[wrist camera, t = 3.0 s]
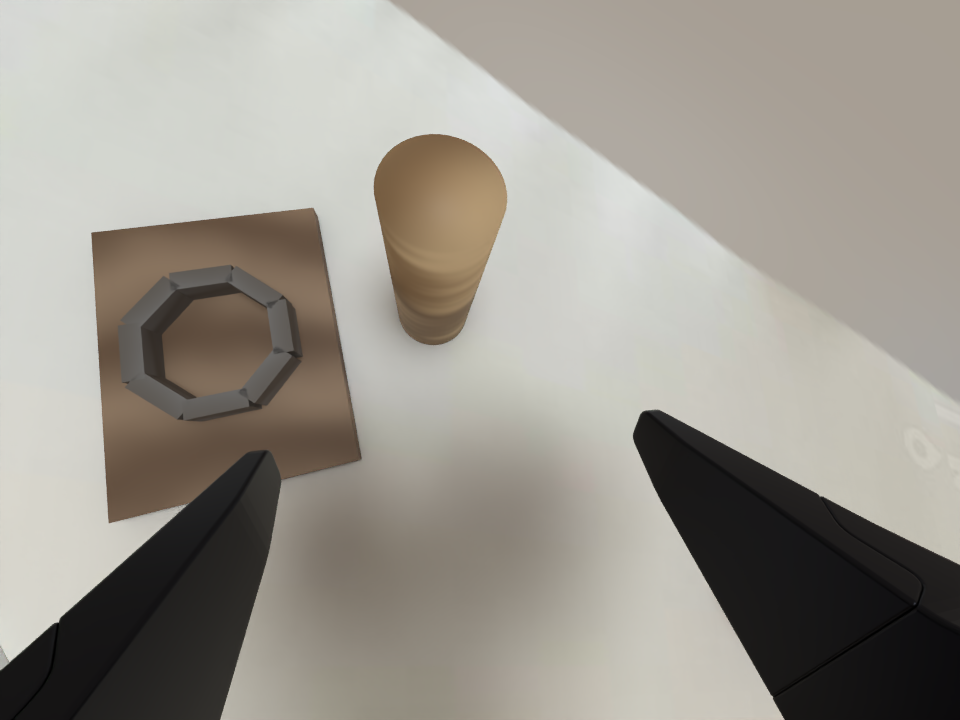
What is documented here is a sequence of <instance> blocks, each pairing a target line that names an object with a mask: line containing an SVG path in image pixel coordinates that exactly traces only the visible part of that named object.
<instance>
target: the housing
mask: <svg viewBox="0 0 960 720" xmlns="http://www.w3.org/2000/svg"><path fill="white" fill-rule="evenodd" d="M91 234H92V251H93V268H94V284H95V301H96V318H97V335H98V351H99V368H100V385H101V402H102V419H103V435H104V452H105V469H106V486H107V503H108V519H109V523H112V522H116V521H120V520H124V519H128V518H131V517H135V516H139V515H143V514H147V513H151V512H155V511H159V510H163V509H167V508H171V507H175V506H179V505H183V504H187V503H190V502H191V501H193V500H194V499H195V498H196V497H197V496H198V495H199V494H200V493H202V492H203V491H204V490H205V489H206V488H207V487H208V486H209V485H211V484H212V483H213V482H214V481H215V480H216V479H217V478H219V477H220V476H221V475H222V474H223V473H224V472H225V471H226V470H228V469H229V468H230V467H231V466H232V465H233V464H234V463H235V462H237V461H238V460H239V459H240V458H241V457H242V456H243V455H244V454H246V453H247V452H250V451H257V450H269V451H271V453H272V454H273V457H274V459H275V462H276V464H277V467H278V469H279V472H280V474H281V480H282V479H285V478H289V477H293V476H297V475H301V474H305V473H309V472H313V471H317V470H321V469H325V468H329V467H333V466H337V465H341V464H345V463H349V462H353V461H357V460H360V459H361V453H360V448H359V442H358V437H357V431H356V426H355V420H354V415H353V409H352V404H351V398H350V393H349V387H348V382H347V376H346V371H345V365H344V360H343V354H342V348H341V343H340V337H339V332H338V326H337V321H336V315H335V310H334V304H333V299H332V293H331V288H330V282H329V277H328V271H327V266H326V260H325V255H324V249H323V243H322V238H321V232H320V227H319V221H318V217H317V215H316V213H315V211H314V208H307V209H298V210H289V211H281V212H272V213H263V214H254V215H245V216H236V217H227V218H218V219H209V220H200V221H191V222H183V223H174V224H165V225H156V226H147V227H138V228H129V229H120V230H111V231H102V232H93V233H91Z"/></svg>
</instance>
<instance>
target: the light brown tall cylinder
mask: <svg viewBox="0 0 960 720" xmlns="http://www.w3.org/2000/svg"><path fill="white" fill-rule="evenodd" d="M374 196H375V200H376V205H377V210H378V215H379V220H380V225H381V230H382V235H383V240H384V244H385V249H386V254H387V259H388V264H389V269H390V274H391V279H392V284H393V289H394V293H395V298H396V303H397V308H398V313H399V318H400V322H401V324H402V326H403V328H404V330H405V331H406V333H407V334H408V335H409V336H411V337H412V338H413V339H415V340H416V341H418V342H421V343H424V344H429V345H438V344H443V343H446V342H448V341H450V340H452V339H453V338H455V337H456V336H457V335H458V334H459V333H460V331H461V330H462V328H463V326H464V324H465V321H466V318H467V315H468V313H469V310H470V307H471V304H472V302H473V299H474V296H475V294H476V291H477V288H478V285H479V283H480V280H481V277H482V274H483V272H484V269H485V266H486V264H487V261H488V258H489V255H490V253H491V250H492V247H493V245H494V242H495V239H496V236H497V234H498V231H499V228H500V225H501V223H502V220H503V217H504V214H505V211H506V205H507V191H506V186H505V182H504V179H503V177H502V175H501V173H500V171H499V169H498V168H497V166H496V165H495V163H494V162H493V161H492V160H491V159H490V158H489V157H488V156H487V155H486V154H485V153H484V152H483V151H482V150H480V149H479V148H477V147H476V146H474V145H473V144H471V143H469V142H467V141H465V140H462V139H459V138H456V137H452V136H448V135H440V134H429V135H421V136H416V137H413V138H410V139H407V140H405V141H403V142H401V143H399V144H398V145H396V146H395V147H394V148H392V149H391V150H390V151H389V152H388V153H387V154H386V155H385V157H384V158H383V159H382V161H381V163H380V164H379V166H378V169H377V171H376V175H375V179H374Z"/></svg>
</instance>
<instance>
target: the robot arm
mask: <svg viewBox="0 0 960 720" xmlns="http://www.w3.org/2000/svg"><path fill="white" fill-rule="evenodd" d="M633 440H634V443H635V445H636V448H637V450H638V452H639V454H640V457H641V459H642V461H643V463H644V466H645V468H646V470H647V472H648V475H649V477H650V479H651V481H652V484H653V486H654V488H655V490H656V492H657V494H658V496H659V498H660V500H661V502H662V504H663V505H664V507H665V509H666V511H667V512H668V514H669V516H670V518H671V520H672V521H673V523H674V525H675V527H676V528H677V530H678V532H679V534H680V535H681V537H682V539H683V541H684V542H685V544H686V546H687V548H688V550H689V551H690V553H691V555H692V557H693V558H694V560H695V562H696V564H697V565H698V567H699V569H700V571H701V572H702V574H703V576H704V578H705V580H706V581H707V583H708V585H709V587H710V588H711V590H712V592H713V594H714V595H715V597H716V599H717V601H718V602H719V604H720V606H721V608H722V610H723V611H724V613H725V615H726V617H727V618H728V620H729V622H730V624H731V625H732V627H733V629H734V631H735V632H736V634H737V636H738V638H739V640H740V641H741V643H742V645H743V647H744V648H745V650H746V652H747V654H748V655H749V657H750V659H751V661H752V662H753V664H754V666H755V668H756V670H757V671H758V673H759V675H760V677H761V678H762V680H763V682H764V684H765V685H766V687H767V689H768V691H769V692H770V694H771V696H773V700H774V702H775V704H776V705H777V707H778V709H779V711H780V712H781V714H782V716H783V718H784V719H785V720H960V565H959V564H957V563H955V562H953V561H951V560H949V559H947V558H944V557H942V556H940V555H938V554H936V553H934V552H932V551H930V550H928V549H926V548H924V547H921V546H919V545H917V544H915V543H913V542H911V541H909V540H907V539H905V538H903V537H901V536H899V535H897V534H895V533H893V532H890V531H888V530H886V529H884V528H882V527H880V526H878V525H876V524H874V523H872V522H870V521H868V520H866V519H864V518H863V517H861V516H859V515H857V514H855V513H853V512H851V511H849V510H847V509H845V508H843V507H841V506H839V505H838V504H836V503H834V502H832V501H830V500H828V499H826V498H824V497H822V496H819V495H818V494H817V493H815V492H813V491H811V490H809V489H807V488H805V487H804V486H802V485H800V484H798V483H796V482H794V481H792V480H790V479H789V478H787V477H785V476H783V475H781V474H779V473H777V472H775V471H773V470H772V469H770V468H768V467H766V466H764V465H762V464H760V463H758V462H756V461H755V460H753V459H751V458H749V457H747V456H745V455H743V454H741V453H740V452H738V451H736V450H734V449H732V448H730V447H728V446H726V445H724V444H723V443H721V442H719V441H717V440H715V439H713V438H711V437H709V436H708V435H706V434H704V433H702V432H700V431H698V430H696V429H694V428H692V427H691V426H689V425H687V424H685V423H683V422H681V421H679V420H677V419H675V418H674V417H672V416H670V415H668V414H666V413H664V412H662V411H660V410H647V411H643V412H642V413H641V414H640V417H639V419H638V422H637V425H636V427H635V430H634V433H633ZM280 487H281V474H280V472H279V469H278V467H277V464H276V462H275V459H274V457H273V454H272V453H271V451H269V450H257V451H250V452H247V453H246V454H244V455H243V456H242V457H241V458H240V459H239V460H238V461H237V462H235V463H234V464H233V465H232V466H231V467H230V468H229V469H228V470H226V471H225V472H224V473H223V474H222V475H221V476H220V477H219V478H217V479H216V480H215V481H214V482H213V483H212V484H211V485H209V486H208V487H207V488H206V489H205V490H204V491H203V492H202V493H200V494H199V495H198V496H197V497H196V498H195V499H194V500H193V501H191V502H190V503H189V504H188V505H187V506H186V507H185V508H184V509H182V510H181V511H180V512H179V513H178V514H177V515H176V516H175V517H173V518H172V519H171V520H170V521H169V522H168V523H167V524H166V525H164V526H163V527H162V528H161V529H160V530H159V531H158V532H157V533H155V534H154V535H153V536H152V537H151V538H150V539H149V540H148V541H146V542H145V543H144V544H143V545H142V546H141V547H140V548H138V549H137V550H136V551H135V552H134V553H133V554H132V555H131V556H129V557H128V558H127V559H126V560H125V561H124V562H123V563H122V564H120V565H119V566H118V567H117V568H116V569H115V570H114V571H113V572H111V573H110V574H109V575H108V576H107V577H106V578H105V579H104V580H102V581H101V582H100V583H99V584H98V585H97V586H96V587H95V588H93V589H92V590H91V591H90V592H89V593H88V594H87V595H86V596H84V597H83V598H82V599H81V600H80V601H79V602H78V603H76V604H75V605H74V606H73V607H72V608H71V609H70V610H69V611H67V612H66V613H65V614H64V615H63V616H62V617H61V618H60V620H59V623H54V624H53V625H51V626H50V627H49V628H48V629H47V630H46V631H45V632H44V633H42V634H41V635H40V636H39V637H38V638H37V639H36V640H35V641H33V642H32V643H31V644H30V645H29V646H28V647H27V648H26V649H24V650H23V651H22V652H21V653H20V654H19V655H17V656H16V657H15V658H14V659H13V660H12V661H11V662H9V663H8V664H7V665H6V666H5V667H4V668H2V669H1V670H0V720H220V719H221V715H222V712H223V708H224V705H225V701H226V698H227V695H228V691H229V688H230V684H231V681H232V678H233V674H234V671H235V667H236V664H237V660H238V657H239V654H240V650H241V647H242V643H243V640H244V637H245V633H246V630H247V626H248V623H249V620H250V616H251V613H252V609H253V606H254V602H255V599H256V596H257V592H258V589H259V585H260V582H261V579H262V575H263V572H264V568H265V565H266V561H267V557H268V554H269V549H270V544H271V538H272V533H273V527H274V521H275V515H276V510H277V504H278V498H279V493H280Z"/></svg>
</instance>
